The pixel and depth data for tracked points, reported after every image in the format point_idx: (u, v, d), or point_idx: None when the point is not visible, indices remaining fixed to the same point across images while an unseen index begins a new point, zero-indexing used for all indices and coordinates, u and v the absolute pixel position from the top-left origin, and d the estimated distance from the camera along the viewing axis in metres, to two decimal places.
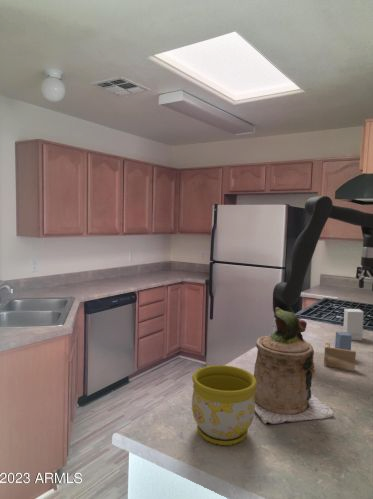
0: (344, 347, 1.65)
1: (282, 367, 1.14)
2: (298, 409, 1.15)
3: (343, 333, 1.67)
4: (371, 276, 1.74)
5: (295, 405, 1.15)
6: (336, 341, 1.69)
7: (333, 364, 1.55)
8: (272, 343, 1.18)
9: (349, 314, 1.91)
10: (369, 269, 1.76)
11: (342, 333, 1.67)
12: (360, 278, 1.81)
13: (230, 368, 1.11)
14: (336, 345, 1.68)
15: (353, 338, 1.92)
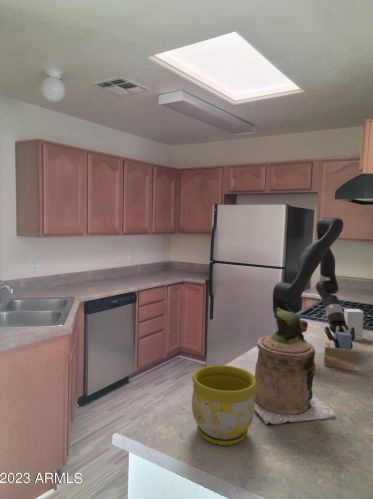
0: (344, 347, 1.65)
1: (283, 368, 1.13)
2: (299, 409, 1.15)
3: (343, 333, 1.67)
4: (347, 332, 1.69)
5: (296, 405, 1.15)
6: None
7: (333, 364, 1.55)
8: (273, 343, 1.18)
9: (349, 314, 1.92)
10: (342, 325, 1.72)
11: (342, 333, 1.67)
12: None
13: (230, 368, 1.11)
14: None
15: None
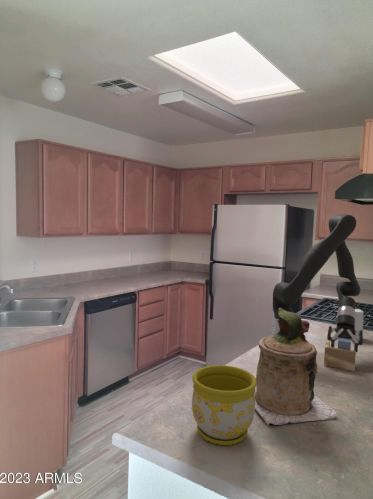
0: None
1: (285, 368, 1.13)
2: (301, 410, 1.15)
3: (344, 339, 1.58)
4: (353, 335, 1.58)
5: (298, 406, 1.15)
6: None
7: (333, 364, 1.55)
8: (275, 343, 1.18)
9: None
10: (349, 329, 1.61)
11: (342, 339, 1.58)
12: (335, 337, 1.60)
13: (230, 368, 1.11)
14: None
15: None
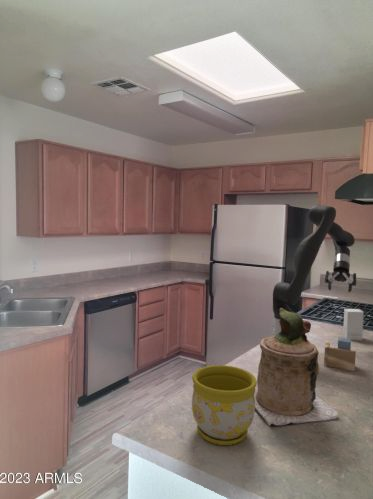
0: None
1: (286, 368, 1.13)
2: (303, 411, 1.14)
3: (344, 339, 1.58)
4: (348, 277, 1.79)
5: (299, 406, 1.14)
6: None
7: (333, 364, 1.55)
8: (276, 344, 1.17)
9: (349, 314, 1.92)
10: (344, 272, 1.82)
11: (342, 339, 1.58)
12: (331, 280, 1.81)
13: (230, 368, 1.11)
14: None
15: (353, 338, 1.92)
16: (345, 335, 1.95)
